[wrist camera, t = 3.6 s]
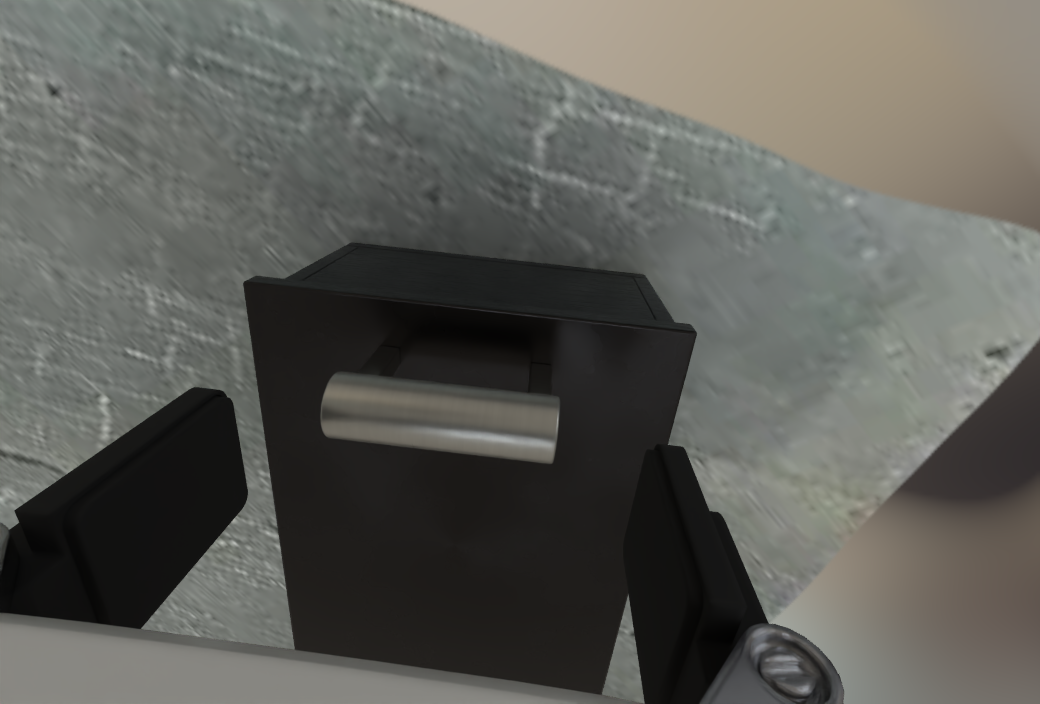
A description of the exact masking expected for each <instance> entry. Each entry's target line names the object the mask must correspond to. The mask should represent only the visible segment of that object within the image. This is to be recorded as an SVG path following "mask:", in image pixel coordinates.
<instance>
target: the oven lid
mask: <svg viewBox="0 0 1040 704" xmlns="http://www.w3.org/2000/svg"><path fill="white" fill-rule="evenodd" d="M243 286H244V293H245V300H246V307H247V314H248V321H249V328H250V335H251V342H252V349H253V356H254V364H255V371H256V378H257V385H258V392H259V399H260V406H261V413H262V420H263V427H264V434H265V441H266V448H267V455H268V462H269V469H270V477H271V484H272V491H273V498H274V505H275V512H276V519H277V526H278V533H279V540H280V547H281V554H282V561H283V568H284V575H285V583H286V590H287V597H288V604H289V611H290V618H291V625H292V632H293V639H294V646H295V650H299V651H307V652H314V653H321V654H328V655H335V656H343V657H350V658H357V659H364V660H371V661H379V662H386V663H393V664H400V665H407V666H414V667H421V668H428V669H435V670H442V671H448V672H455V673H462V674H469V675H476V676H483V677H490V678H497V679H504V680H511V681H518V682H524V683H531V684H537V685H543V686H549V687H555V688H561V689H568V690H574V691H580V692H586V693H592V694H598V695H602V692H603V688H604V684H605V680H606V676H607V673H608V669H609V665H610V661H611V657H612V654H613V650H614V646H615V642H616V638H617V635H618V631H619V627H620V623H621V620H622V616H623V612H624V608H625V604H626V601H627V597H628V586H627V580H626V573H625V566H624V560H623V543H624V537H625V533H626V529H627V525H628V521H629V517H630V513H631V509H632V505H633V500H634V496H635V492H636V488H637V484H638V480H639V476H640V472H641V468H642V464H643V459H644V455H645V452H646V450H647V449H650V450H654V448H655V446H656V445H657V444H664V445H668V442H669V438H670V434H671V430H672V426H673V423H674V419H675V415H676V411H677V408H678V404H679V400H680V396H681V392H682V389H683V385H684V381H685V377H686V373H687V370H688V366H689V362H690V358H691V355H692V351H693V347H694V343H695V339H696V336H697V332H696V331H695V329H694V328H693V327H692V325H690V324H684V323H675V322H666V321H657V320H648V319H639V318H630V317H621V316H612V315H603V314H594V313H585V312H576V311H567V310H558V309H549V308H540V307H531V306H522V305H513V304H505V303H496V302H487V301H478V300H469V299H460V298H451V297H442V296H433V295H424V294H415V293H406V292H397V291H388V290H379V289H370V288H361V287H352V286H343V285H334V284H325V283H316V282H307V281H298V280H289V279H280V278H272V277H263V276H255V277H253V278H251V279H249V280H246V281H244V283H243Z"/></svg>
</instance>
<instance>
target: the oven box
mask: <svg viewBox="0 0 1040 704" xmlns="http://www.w3.org/2000/svg"><path fill="white" fill-rule="evenodd" d="M285 279H289V280H298V281H307V282H316V283H325V284H334V285H343V286H352V287H361V288H370V289H379V290H388V291H397V292H406V293H415V294H424V295H433V296H442V297H451V298H460V299H469V300H478V301H487V302H496V303H505V304H513V305H522V306H531V307H540V308H549V309H558V310H567V311H576V312H585V313H594V314H603V315H612V316H621V317H630V318H639V319H648V320H657V321H666V322H674V320H673V319H672V317H671V315H670V314H669V312H668V311H667V309H666V308H665V306H664V304H663V303H662V301H661V300H660V298H659V297H658V295H657V293H656V292H655V290H654V289H653V287H652V286H651V284H650V282H649V281H648V279H647V278H646V276H645V275H642V274H633V273H623V272H614V271H605V270H596V269H587V268H578V267H569V266H560V265H551V264H542V263H533V262H523V261H514V260H505V259H496V258H487V257H478V256H469V255H460V254H451V253H442V252H433V251H423V250H414V249H405V248H396V247H387V246H378V245H369V244H360V243H349V244H348V245H346V246H344V247H342V248H340V249H338V250H336V251H335V252H333V253H331V254H329V255H327V256H325V257H324V258H322V259H320V260H318V261H316V262H314V263H313V264H311V265H309V266H307V267H305V268H303V269H301V270H300V271H298V272H296V273H294V274H292V275H290V276H289V277H287V278H285Z"/></svg>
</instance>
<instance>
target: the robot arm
mask: <svg viewBox="0 0 1040 704" xmlns="http://www.w3.org/2000/svg"><path fill="white" fill-rule="evenodd" d="M247 496H248V489H247V483H246V477H245V471H244V465H243V459H242V453H241V448H240V442H239V436H238V430H237V424H236V418H235V412H234V406H233V402H232V400H231V399H230V398H228V397H227V396H226V394H225V393H224V392H223V391H221V390H215V389H207V388H199V387H194V388H191V389H189V390H188V391H186V392H185V393H184V394H182V395H181V396H179V397H178V398H176V399H175V400H173V401H172V402H171V403H169V404H168V405H166V406H165V407H163V408H162V409H160V410H159V411H158V412H156V413H155V414H153V415H152V416H150V417H149V418H147V419H146V420H145V421H143V422H142V423H140V424H139V425H137V426H136V427H134V428H133V429H132V430H130V431H129V432H127V433H126V434H124V435H123V436H121V437H120V438H119V439H117V440H116V441H114V442H113V443H111V444H110V445H108V446H107V447H106V448H104V449H103V450H101V451H100V452H98V453H97V454H95V455H94V456H93V457H91V458H90V459H88V460H87V461H85V462H84V463H82V464H81V465H80V466H78V467H77V468H75V469H74V470H72V471H71V472H69V473H68V474H67V475H65V476H64V477H62V478H61V479H59V480H58V481H56V482H55V483H54V484H52V485H51V486H49V487H48V488H46V489H45V490H43V491H42V492H41V493H39V494H38V495H36V496H35V497H33V498H32V499H30V500H29V501H28V502H26V503H25V504H23V505H22V506H20V507H19V508H17V509H16V510H15V513H16V516H17V518H18V520H19V523H18V524H17V525H16V526H14V527H13V528H11V529H10V530H9V529H8V528H7V527H6V526H5V525H4V524H3V523H1V522H0V704H643V703H638V702H634V701H629V700H624V699H620V698H615V697H610V696H605V695H598V694H592V693H586V692H580V691H574V690H568V689H561V688H555V687H549V686H543V685H537V684H531V683H524V682H518V681H511V680H504V679H497V678H490V677H483V676H476V675H469V674H462V673H455V672H448V671H442V670H435V669H428V668H421V667H414V666H407V665H400V664H393V663H386V662H379V661H371V660H364V659H357V658H350V657H343V656H335V655H328V654H321V653H314V652H307V651H299V650H292V649H285V648H277V647H270V646H263V645H255V644H248V643H241V642H233V641H226V640H219V639H211V638H203V637H196V636H188V635H181V634H173V633H165V632H158V631H150V630H143V629H141V628H142V627H143V626H144V624H145V623H146V622H147V621H148V620H149V618H150V617H151V616H152V615H153V614H154V612H155V611H156V610H157V609H158V608H159V607H160V605H161V604H162V603H163V602H164V601H165V599H166V598H167V597H168V596H169V595H170V594H171V592H172V591H173V590H174V589H175V588H176V586H177V585H178V584H179V583H180V582H181V581H182V579H183V578H184V577H185V576H186V575H187V573H188V572H189V571H190V570H191V569H192V568H193V566H194V565H195V564H196V563H197V562H198V560H199V559H200V558H201V557H202V556H203V555H204V553H205V552H206V551H207V550H208V549H209V547H210V546H211V545H212V544H213V543H214V542H215V540H216V539H217V538H218V537H219V536H220V534H221V533H222V532H223V531H224V530H225V529H226V527H227V526H228V525H229V524H230V523H231V521H232V520H233V519H234V518H235V517H236V516H237V514H238V513H239V512H240V511H241V510H242V508H243V507H244V505H245V503H246V500H247ZM623 560H624V566H625V573H626V580H627V586H628V593H629V600H630V607H631V613H632V620H633V627H634V634H635V640H636V647H637V654H638V661H639V667H640V674H641V681H642V687H643V694H644V701H645V704H843V700H844V689H843V685H842V682H841V679H840V676H839V674H838V673H837V671H836V669H835V667H834V666H833V664H832V663H831V661H830V660H829V659H828V658H827V657H826V656H825V654H824V653H823V652H822V651H821V650H820V649H819V648H818V647H817V646H816V645H814V644H813V643H812V642H810V641H809V640H807V638H805V637H804V636H802V635H800V634H798V633H797V632H794V631H793V630H791V629H789V628H786V627H783V626H779V625H776V624H769V623H768V621H767V619H766V616H765V614H764V612H763V609H762V607H761V605H760V602H759V600H758V597H757V595H756V593H755V590H754V588H753V586H752V583H751V581H750V579H749V576H748V574H747V572H746V569H745V567H744V565H743V562H742V560H741V557H740V555H739V553H738V550H737V548H736V546H735V543H734V541H733V539H732V536H731V534H730V532H729V529H728V527H727V524H726V522H725V520H724V518H723V517H722V515H721V514H720V513H718V512H712V511H709V509H708V506H707V504H706V501H705V498H704V496H703V493H702V491H701V488H700V486H699V483H698V481H697V478H696V476H695V473H694V471H693V468H692V466H691V463H690V460H689V458H688V455H687V453H686V450H685V449H684V447H680V446H672V445H664V444H657V445H656V446H655V448H654V450H650V449H647V450H646V452H645V455H644V459H643V464H642V468H641V472H640V476H639V480H638V484H637V488H636V492H635V496H634V500H633V505H632V509H631V513H630V517H629V521H628V525H627V529H626V533H625V537H624V543H623Z"/></svg>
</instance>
